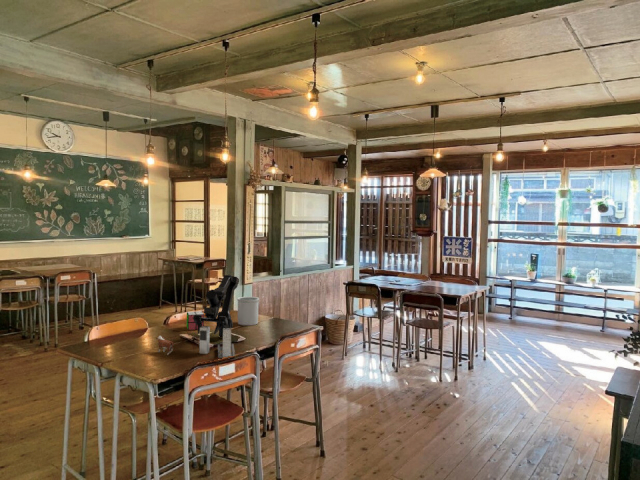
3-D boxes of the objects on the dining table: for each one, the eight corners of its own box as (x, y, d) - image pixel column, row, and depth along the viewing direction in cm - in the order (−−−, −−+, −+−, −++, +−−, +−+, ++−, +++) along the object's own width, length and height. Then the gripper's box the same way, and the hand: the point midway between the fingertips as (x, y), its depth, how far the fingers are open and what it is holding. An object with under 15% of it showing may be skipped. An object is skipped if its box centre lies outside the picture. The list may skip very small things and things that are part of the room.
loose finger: (202, 351, 256) (202, 326, 255) (209, 351, 256) (209, 326, 255) (198, 353, 251) (199, 328, 251) (206, 354, 251) (206, 328, 250)
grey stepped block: (217, 348, 262) (218, 322, 261) (233, 348, 263) (233, 321, 263) (218, 358, 244) (218, 330, 243) (234, 358, 246) (235, 329, 245)
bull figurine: (160, 349, 258) (161, 334, 257) (174, 354, 249) (175, 339, 249) (153, 350, 254) (153, 335, 254) (167, 356, 246) (167, 340, 245)
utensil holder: (232, 322, 325) (233, 297, 324) (250, 319, 335) (251, 295, 334) (244, 326, 314) (245, 300, 313) (262, 323, 324) (263, 298, 323)
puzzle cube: (203, 329, 304) (204, 314, 303) (188, 330, 300) (188, 314, 300) (201, 325, 313) (202, 311, 313) (186, 326, 309) (186, 311, 309)
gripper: (194, 300, 261) (186, 324, 251) (226, 302, 259) (219, 326, 249) (199, 311, 270) (191, 335, 259) (230, 313, 267) (224, 337, 257)
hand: (206, 333), depth 256 cm, fingers open, 9 cm apart
